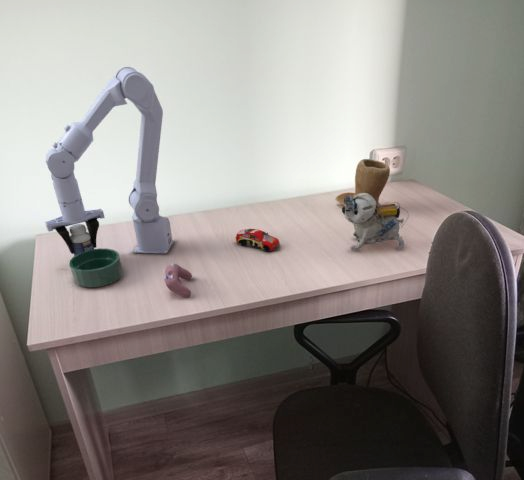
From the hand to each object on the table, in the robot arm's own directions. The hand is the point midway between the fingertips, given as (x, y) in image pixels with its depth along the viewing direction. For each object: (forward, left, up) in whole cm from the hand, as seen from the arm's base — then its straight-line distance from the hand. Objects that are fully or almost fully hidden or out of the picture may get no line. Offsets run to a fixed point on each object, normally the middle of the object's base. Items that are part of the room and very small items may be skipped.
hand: (83, 249), depth 132 cm
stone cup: (-75, -40, -4) cm, 85 cm away
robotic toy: (-76, -13, -4) cm, 78 cm away
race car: (-45, -12, -4) cm, 47 cm away
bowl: (-7, +9, -3) cm, 12 cm away
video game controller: (-29, +13, -4) cm, 32 cm away
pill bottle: (0, 0, -4) cm, 4 cm away
